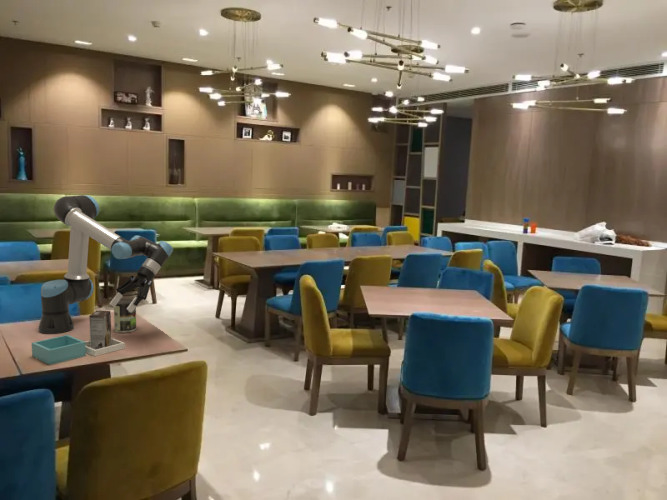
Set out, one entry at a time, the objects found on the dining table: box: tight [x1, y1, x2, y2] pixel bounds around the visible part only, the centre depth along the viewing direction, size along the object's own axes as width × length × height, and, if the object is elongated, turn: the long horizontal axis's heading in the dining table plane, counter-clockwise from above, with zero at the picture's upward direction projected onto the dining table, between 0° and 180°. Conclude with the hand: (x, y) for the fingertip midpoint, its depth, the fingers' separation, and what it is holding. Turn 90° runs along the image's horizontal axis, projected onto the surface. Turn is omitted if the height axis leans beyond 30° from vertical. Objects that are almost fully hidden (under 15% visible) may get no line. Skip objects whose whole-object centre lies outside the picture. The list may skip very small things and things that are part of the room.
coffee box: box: [88, 310, 112, 350], centre depth 243 cm, size 9×6×16 cm
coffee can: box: [113, 298, 137, 334], centre depth 272 cm, size 10×10×14 cm
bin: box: [31, 334, 87, 366], centre depth 233 cm, size 15×15×6 cm
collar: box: [84, 337, 126, 357], centre depth 244 cm, size 14×14×2 cm
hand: (120, 308), depth 248 cm, fingers open, 13 cm apart
